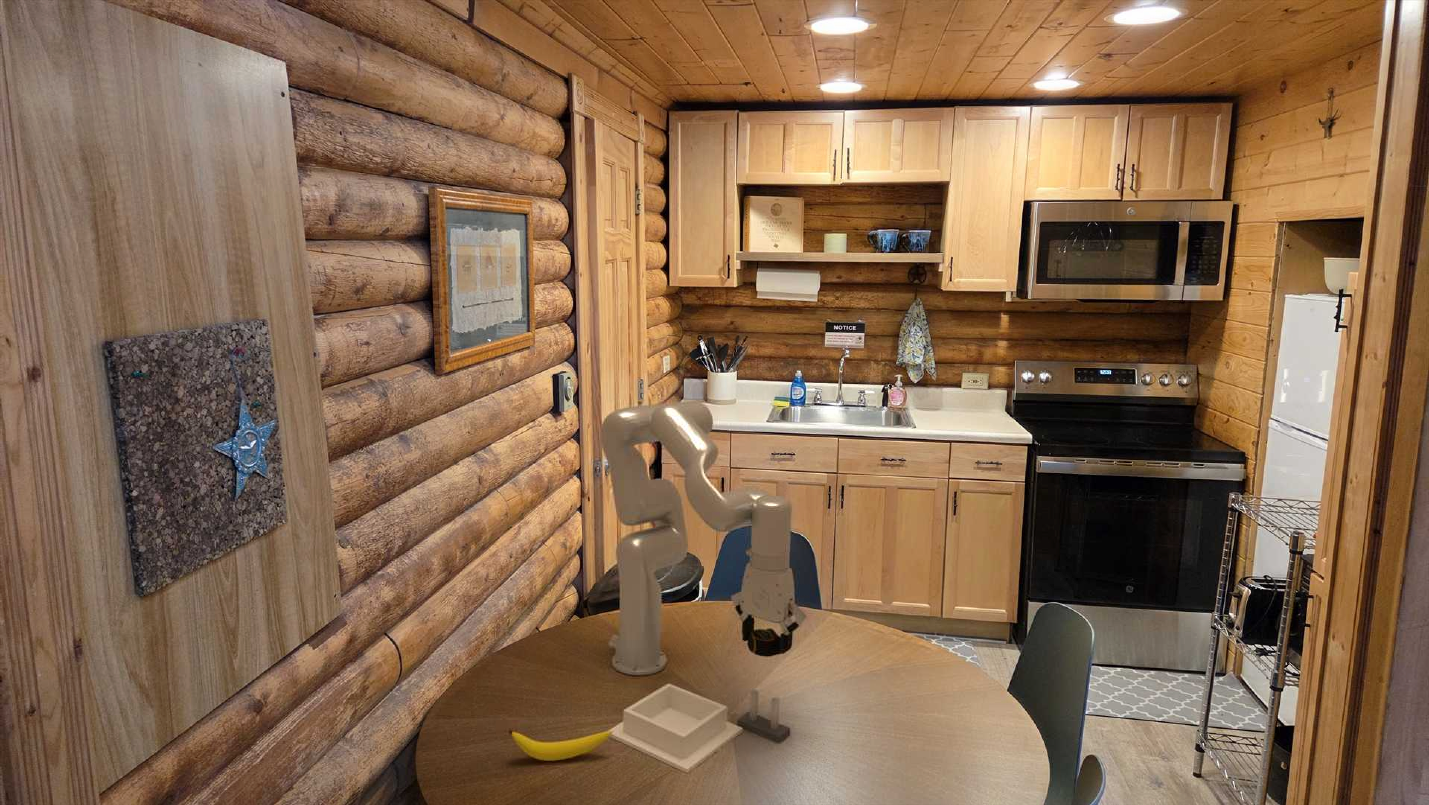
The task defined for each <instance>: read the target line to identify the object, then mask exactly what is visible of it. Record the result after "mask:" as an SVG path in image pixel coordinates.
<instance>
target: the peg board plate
mask: <svg viewBox="0 0 1429 805" xmlns="http://www.w3.org/2000/svg"><path fill="white" fill-rule="evenodd" d="M749 699H750V700H749V711H746V712H745V713H744V714H743V715H742V716H740V717H739V718H737V721H736V722H737V723H736V724H737V726H739V727H742V728H743V730H745V731H747V732H749V733H750V732H751V733H752V734H755V735H758V736H760V737H763V738H765V739H767V740H770V741H771V742H774V743H777V744H781V743H782V742H784V741H785V740H787V738H788V737H789V736H790V735H791V727H788V726H786V725H784V724H781V723H780V721H779V720H780V703H781V702H780V701H781V700H780V698H779V697H772V698H771V702H770V703H771V704H770V719H769V718H766V717H764V716H762V715H759V714H758V713H759V712H758V711H759V708H758V707H759V690H757V689H751V690H750V696H749Z"/></svg>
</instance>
